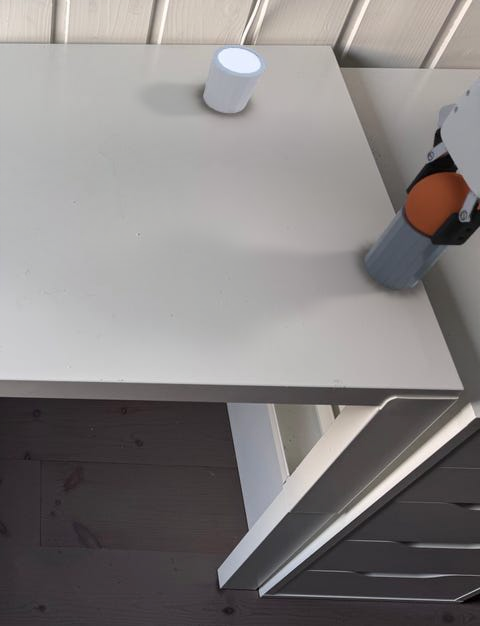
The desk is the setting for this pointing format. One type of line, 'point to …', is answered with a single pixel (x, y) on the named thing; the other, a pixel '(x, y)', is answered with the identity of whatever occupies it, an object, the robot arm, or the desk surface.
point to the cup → (402, 254)
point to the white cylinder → (232, 78)
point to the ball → (435, 201)
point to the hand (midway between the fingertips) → (433, 216)
